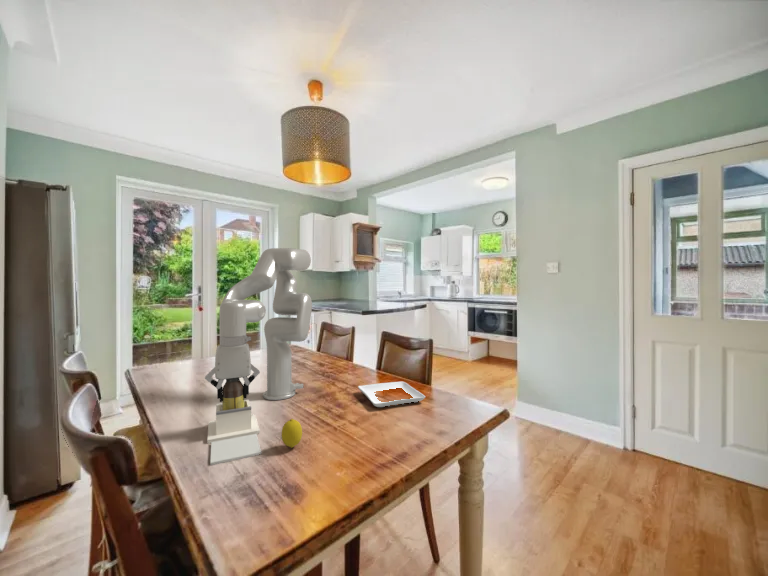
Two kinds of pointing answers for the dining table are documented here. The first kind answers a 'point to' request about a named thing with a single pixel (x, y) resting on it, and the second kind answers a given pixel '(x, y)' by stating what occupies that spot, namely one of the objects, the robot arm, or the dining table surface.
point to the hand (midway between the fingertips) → (233, 398)
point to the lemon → (291, 433)
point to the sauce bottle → (233, 394)
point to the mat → (234, 449)
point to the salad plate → (372, 388)
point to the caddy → (232, 423)
